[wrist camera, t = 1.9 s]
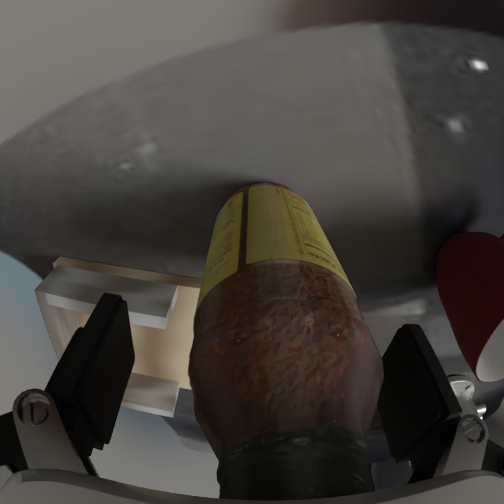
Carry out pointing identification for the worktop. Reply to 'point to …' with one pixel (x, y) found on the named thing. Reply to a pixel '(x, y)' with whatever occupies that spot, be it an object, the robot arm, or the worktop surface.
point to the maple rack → (141, 322)
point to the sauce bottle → (282, 355)
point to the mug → (475, 299)
